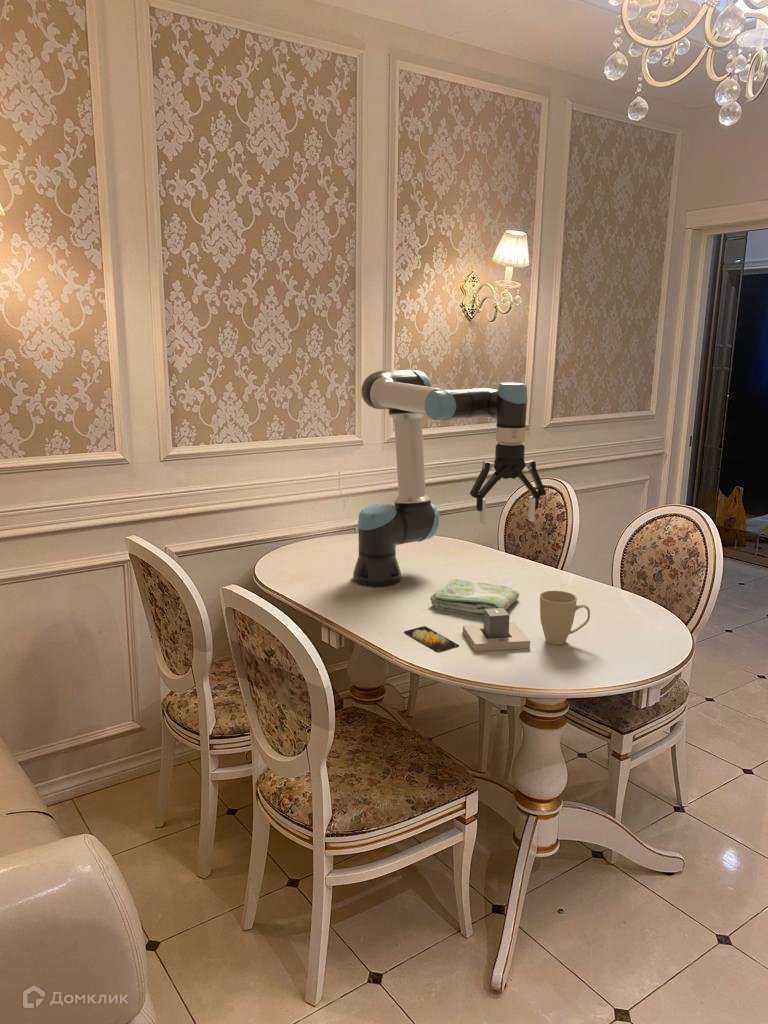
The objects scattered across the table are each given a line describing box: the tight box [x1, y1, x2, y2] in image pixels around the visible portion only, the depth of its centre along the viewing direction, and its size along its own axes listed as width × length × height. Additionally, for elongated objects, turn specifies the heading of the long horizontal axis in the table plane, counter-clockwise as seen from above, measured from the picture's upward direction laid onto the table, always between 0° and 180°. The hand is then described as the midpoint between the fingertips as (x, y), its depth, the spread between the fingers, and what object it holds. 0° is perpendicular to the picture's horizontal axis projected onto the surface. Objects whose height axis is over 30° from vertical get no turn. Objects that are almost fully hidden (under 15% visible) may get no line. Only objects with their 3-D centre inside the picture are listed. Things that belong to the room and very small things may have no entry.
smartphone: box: [403, 625, 460, 653], centre depth 190 cm, size 7×1×15 cm
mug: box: [539, 590, 591, 646], centre depth 187 cm, size 11×10×12 cm
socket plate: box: [462, 621, 531, 653], centre depth 189 cm, size 12×14×2 cm
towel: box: [429, 578, 520, 618], centre depth 214 cm, size 18×21×5 cm
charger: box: [483, 608, 510, 639], centre depth 188 cm, size 5×5×8 cm
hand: (506, 521), depth 199 cm, fingers open, 13 cm apart
